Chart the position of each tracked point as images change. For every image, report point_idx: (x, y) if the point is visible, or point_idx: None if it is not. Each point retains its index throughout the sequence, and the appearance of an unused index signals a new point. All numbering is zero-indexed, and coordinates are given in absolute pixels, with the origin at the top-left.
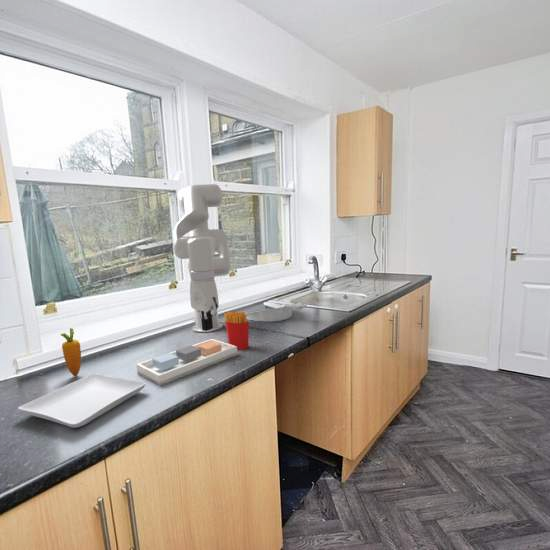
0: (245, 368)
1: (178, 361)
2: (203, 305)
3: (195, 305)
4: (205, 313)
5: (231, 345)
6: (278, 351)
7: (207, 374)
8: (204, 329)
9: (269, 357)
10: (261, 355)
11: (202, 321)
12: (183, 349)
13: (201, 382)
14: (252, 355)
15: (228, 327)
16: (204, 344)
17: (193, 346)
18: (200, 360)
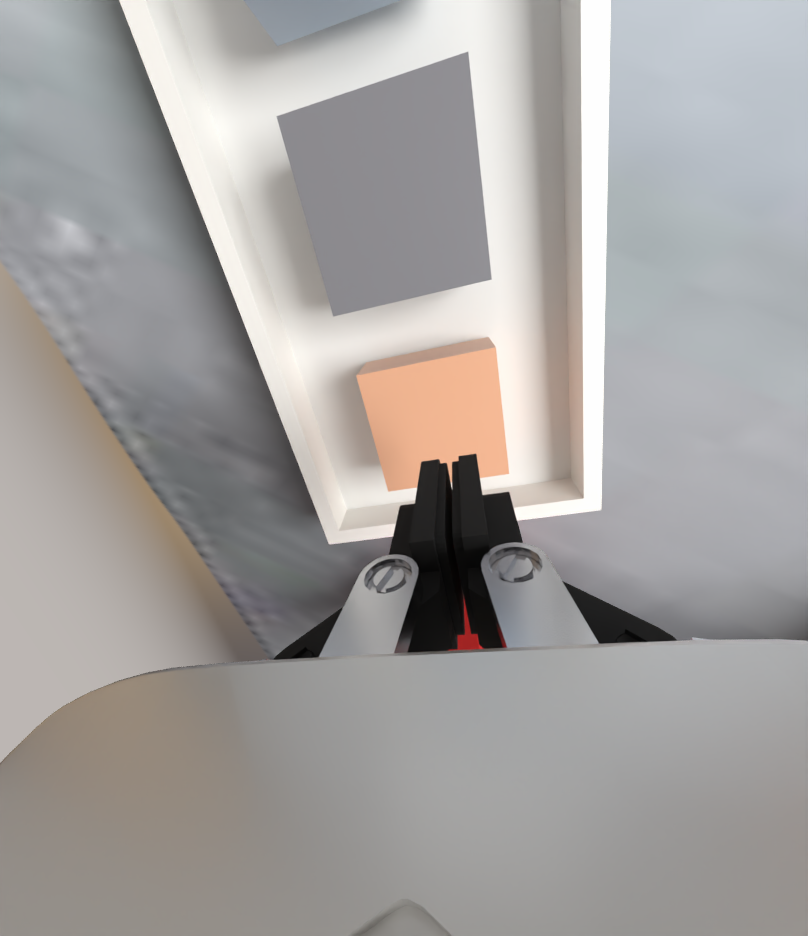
0: (142, 456)
1: (264, 25)
2: (13, 900)
3: (638, 811)
4: (346, 645)
5: (362, 531)
6: (265, 635)
7: (148, 251)
8: (431, 463)
9: (220, 584)
10: (262, 576)
11: (461, 513)
12: (435, 157)
13: (34, 159)
14: (287, 553)
15: (468, 640)
16: (482, 406)
17: (442, 287)
18: (218, 250)
